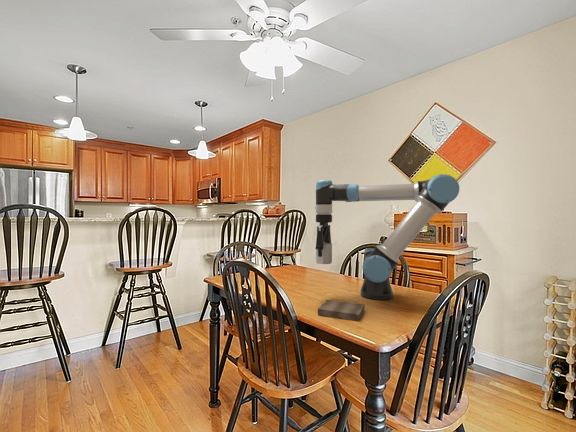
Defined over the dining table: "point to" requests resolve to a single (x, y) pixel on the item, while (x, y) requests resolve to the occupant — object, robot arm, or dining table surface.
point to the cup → (327, 253)
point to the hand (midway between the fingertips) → (323, 261)
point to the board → (341, 310)
